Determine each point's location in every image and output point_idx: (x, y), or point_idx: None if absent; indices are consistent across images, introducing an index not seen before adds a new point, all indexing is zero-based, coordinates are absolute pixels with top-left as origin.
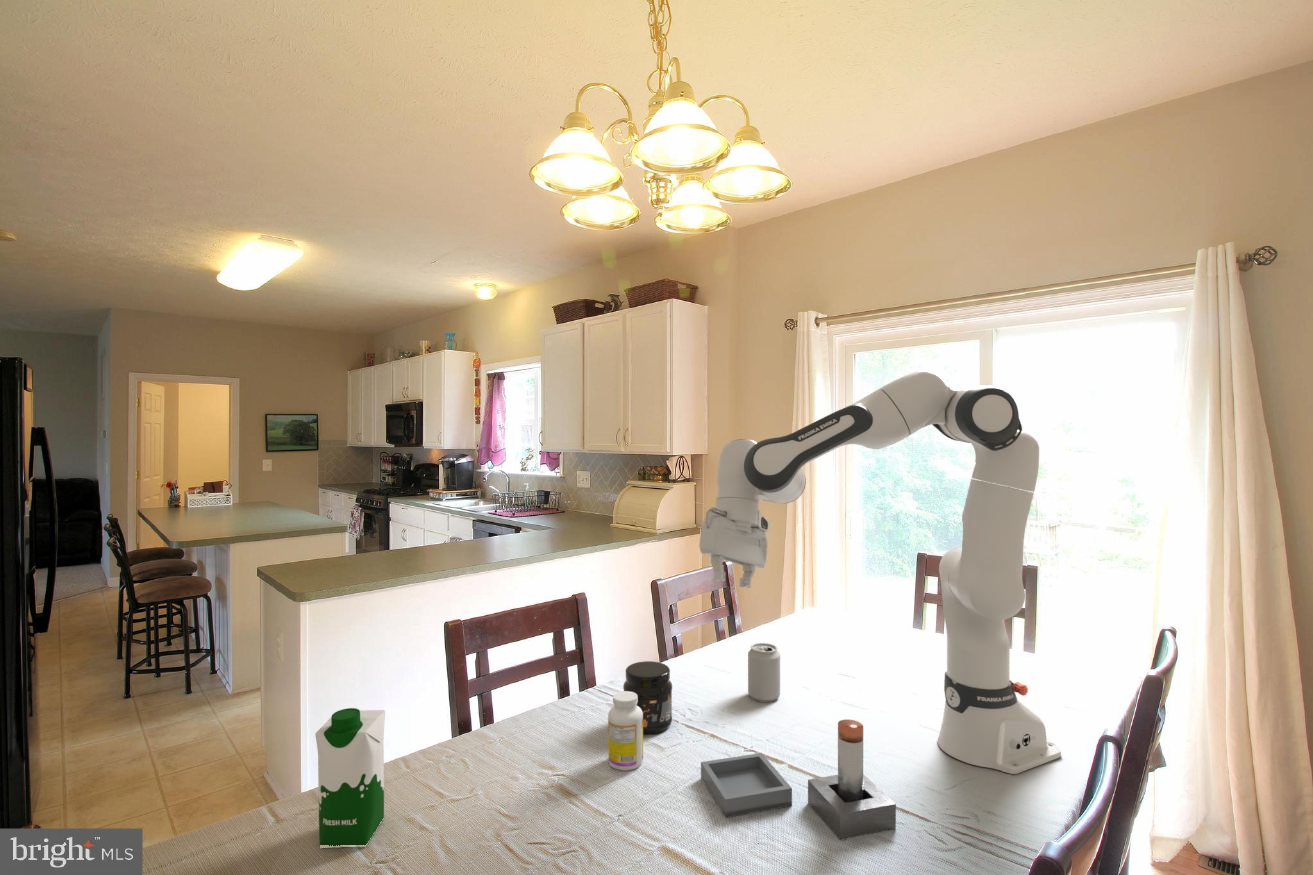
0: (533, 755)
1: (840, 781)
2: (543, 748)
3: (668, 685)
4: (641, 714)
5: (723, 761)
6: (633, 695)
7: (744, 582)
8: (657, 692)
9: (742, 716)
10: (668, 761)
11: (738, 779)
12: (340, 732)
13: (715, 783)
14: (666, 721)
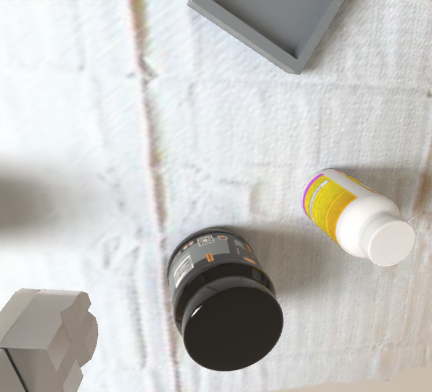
0: (383, 288)
1: None
2: (363, 295)
3: (210, 276)
4: (361, 203)
5: (271, 43)
6: (382, 235)
7: (67, 338)
8: (247, 267)
9: (40, 174)
10: (280, 151)
11: (262, 6)
12: None
13: (341, 3)
14: (209, 234)
